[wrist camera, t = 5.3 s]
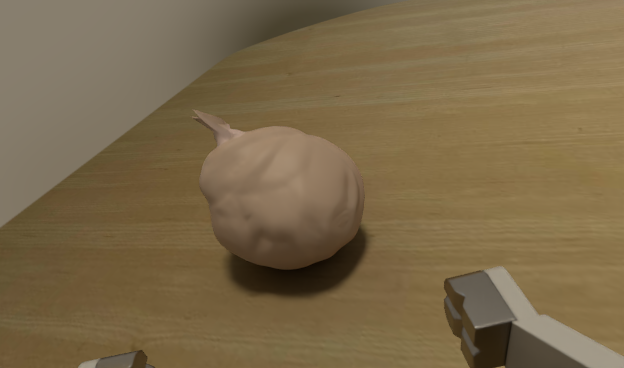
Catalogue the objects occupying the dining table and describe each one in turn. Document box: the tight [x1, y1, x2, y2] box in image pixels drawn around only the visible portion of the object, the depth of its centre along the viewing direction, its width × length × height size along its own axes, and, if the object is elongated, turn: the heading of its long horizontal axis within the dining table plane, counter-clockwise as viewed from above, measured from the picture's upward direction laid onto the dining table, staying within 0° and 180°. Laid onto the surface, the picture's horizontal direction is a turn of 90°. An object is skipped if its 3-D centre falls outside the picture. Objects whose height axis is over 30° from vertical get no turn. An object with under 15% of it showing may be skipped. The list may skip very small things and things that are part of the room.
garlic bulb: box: [192, 109, 365, 270], centre depth 19 cm, size 7×6×8 cm
